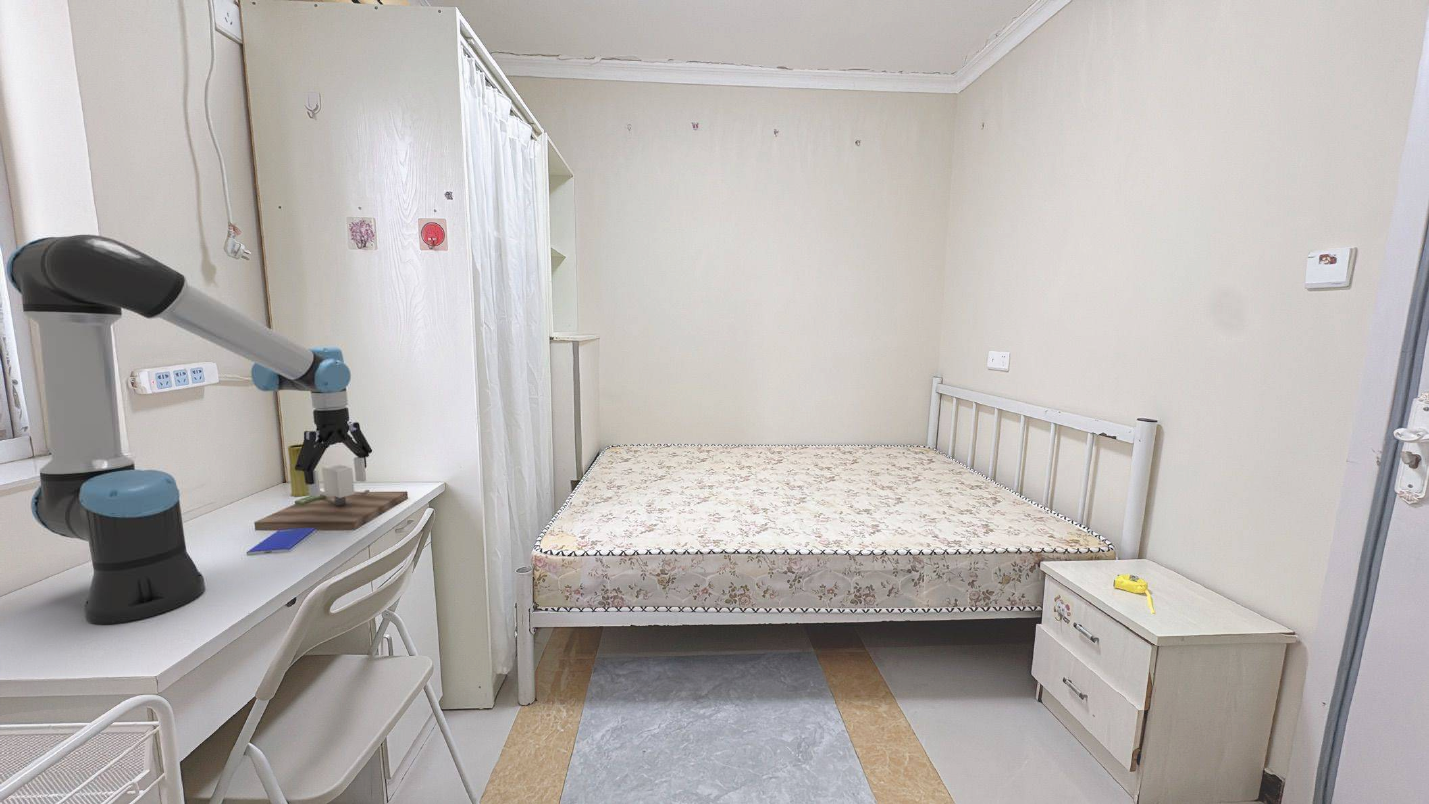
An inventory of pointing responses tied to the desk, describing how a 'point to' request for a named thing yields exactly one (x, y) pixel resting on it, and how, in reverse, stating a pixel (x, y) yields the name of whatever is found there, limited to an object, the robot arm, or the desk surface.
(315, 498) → the brown flat square board
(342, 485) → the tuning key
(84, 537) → the robot arm
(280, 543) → the hard drive
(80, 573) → the desk surface
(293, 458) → the vase
